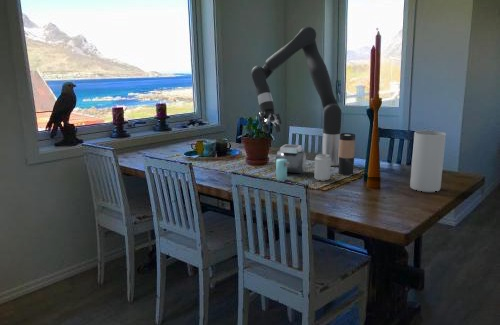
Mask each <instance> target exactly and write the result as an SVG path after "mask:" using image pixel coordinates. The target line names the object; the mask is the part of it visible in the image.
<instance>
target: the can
mask: <svg viewBox="0 0 500 325" xmlns="http://www.w3.org/2000/svg"><path fill="white" fill-rule="evenodd" d="M330 162H331V158H330V157H329V155H327V154H322V153H318V154H316V155H315V157H314V179H315V180H316V181H319V180H321V181H320V182H324V181H325V180H327V181H328V180H329V179H330V178H331V166H330ZM325 182H326V181H325Z"/></svg>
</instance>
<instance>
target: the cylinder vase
mask: <svg viewBox="0 0 500 325" xmlns="http://www.w3.org/2000/svg"><path fill="white" fill-rule="evenodd" d="M446 137H447V133H446V132H443V131H436V130H416V131H414V133H413V145H412V147H413V148H412V157H411V167H410V168H411V170H410V180H409V181H410V182H409V184H410V185H409V187H410V189H412V190H414V191H416V190H417V192H421V191H422V192H421V193H436V192H435V191H437V192H439V191H440V190H441V188H442V187H441V186H442V178H443V177H442V175H443V167H444V160H445V158H444V157H445V149H446V140H447V139H446Z"/></svg>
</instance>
